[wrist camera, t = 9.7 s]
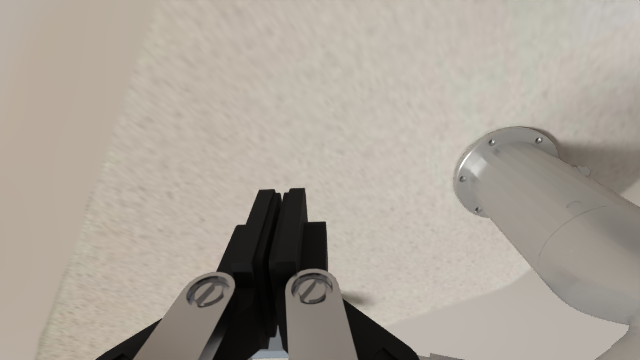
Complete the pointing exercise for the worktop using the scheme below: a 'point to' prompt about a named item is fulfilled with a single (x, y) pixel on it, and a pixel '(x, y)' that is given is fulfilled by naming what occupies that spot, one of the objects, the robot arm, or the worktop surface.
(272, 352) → the bar
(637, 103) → the worktop surface
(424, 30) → the worktop surface
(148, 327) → the robot arm
